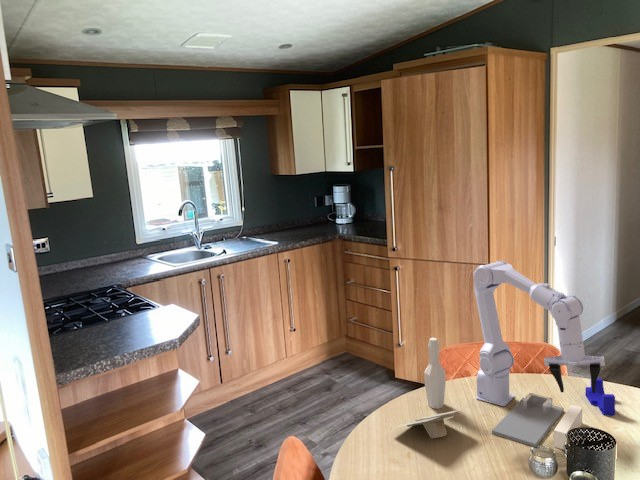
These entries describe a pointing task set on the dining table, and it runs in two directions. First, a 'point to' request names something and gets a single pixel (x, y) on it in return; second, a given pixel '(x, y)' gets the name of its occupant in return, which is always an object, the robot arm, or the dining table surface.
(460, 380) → the dining table surface
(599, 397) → the blue stepped block
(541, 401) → the grey base plate
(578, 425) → the white rail
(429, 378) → the low poly bottle
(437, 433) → the tilted plate on foot
